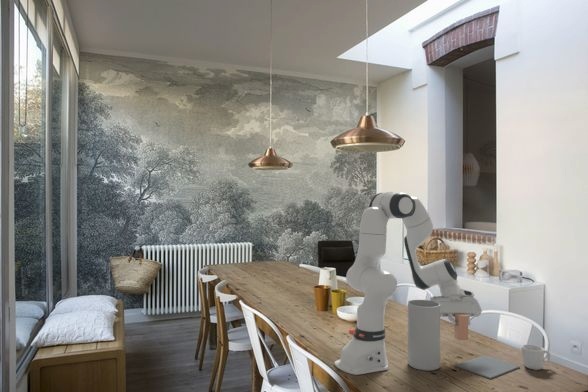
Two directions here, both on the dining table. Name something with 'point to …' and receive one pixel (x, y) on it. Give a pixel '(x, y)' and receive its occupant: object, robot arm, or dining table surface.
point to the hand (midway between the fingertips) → (462, 324)
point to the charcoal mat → (487, 366)
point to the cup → (534, 356)
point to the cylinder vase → (424, 334)
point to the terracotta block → (461, 327)
